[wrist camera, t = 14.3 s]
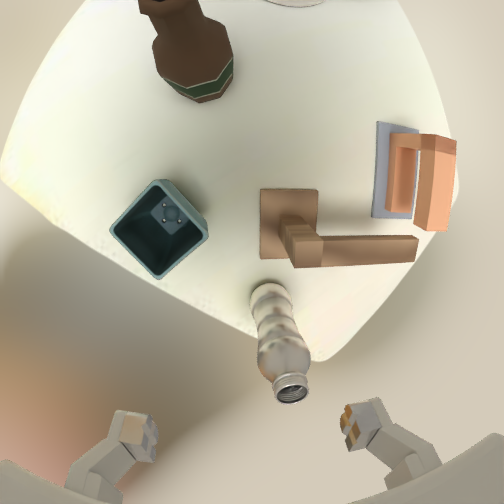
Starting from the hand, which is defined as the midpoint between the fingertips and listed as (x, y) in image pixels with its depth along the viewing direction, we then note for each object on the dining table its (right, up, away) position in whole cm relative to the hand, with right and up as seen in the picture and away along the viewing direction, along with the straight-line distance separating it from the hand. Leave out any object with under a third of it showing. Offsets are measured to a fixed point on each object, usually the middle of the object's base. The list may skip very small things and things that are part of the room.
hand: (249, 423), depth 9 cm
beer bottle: (-6, +30, +21) cm, 37 cm away
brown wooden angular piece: (+11, +11, +30) cm, 34 cm away
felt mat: (+23, +19, +27) cm, 41 cm away
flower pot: (-11, +12, +28) cm, 33 cm away
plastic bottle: (+3, 0, +34) cm, 34 cm away
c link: (+23, +19, +27) cm, 40 cm away
